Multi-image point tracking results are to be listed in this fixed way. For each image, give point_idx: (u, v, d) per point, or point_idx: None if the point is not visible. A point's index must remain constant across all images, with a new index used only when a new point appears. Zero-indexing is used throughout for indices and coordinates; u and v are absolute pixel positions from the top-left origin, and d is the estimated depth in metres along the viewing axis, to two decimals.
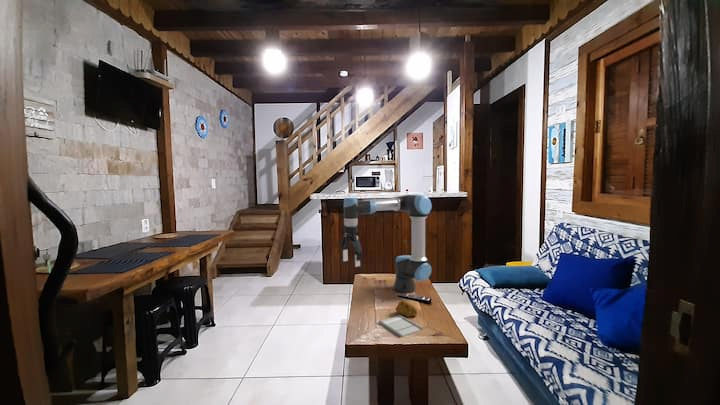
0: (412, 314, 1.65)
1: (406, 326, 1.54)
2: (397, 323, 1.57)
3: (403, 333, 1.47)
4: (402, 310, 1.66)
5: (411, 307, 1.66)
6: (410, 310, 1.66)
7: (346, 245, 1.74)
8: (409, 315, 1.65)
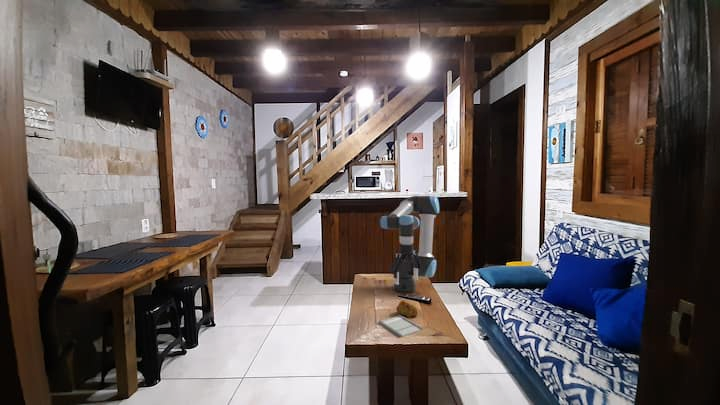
0: (413, 314, 1.65)
1: (406, 326, 1.54)
2: (397, 323, 1.57)
3: (403, 333, 1.47)
4: (403, 310, 1.66)
5: (412, 307, 1.66)
6: (411, 310, 1.66)
7: (413, 263, 1.70)
8: (410, 315, 1.65)
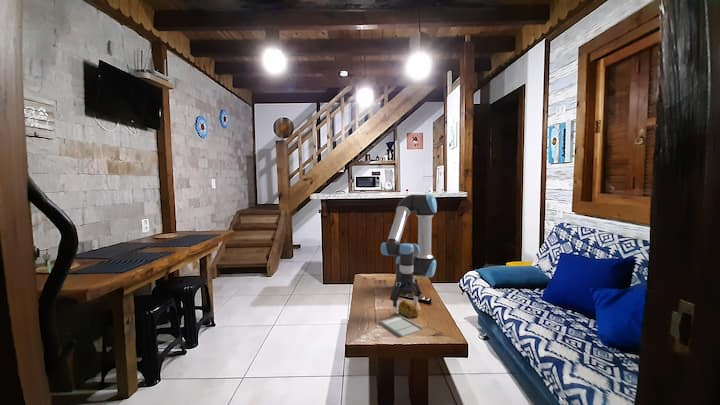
0: (413, 315, 1.65)
1: (406, 326, 1.54)
2: (397, 323, 1.57)
3: (403, 333, 1.47)
4: (404, 311, 1.66)
5: (412, 308, 1.66)
6: (411, 311, 1.65)
7: (413, 291, 1.71)
8: (410, 316, 1.65)
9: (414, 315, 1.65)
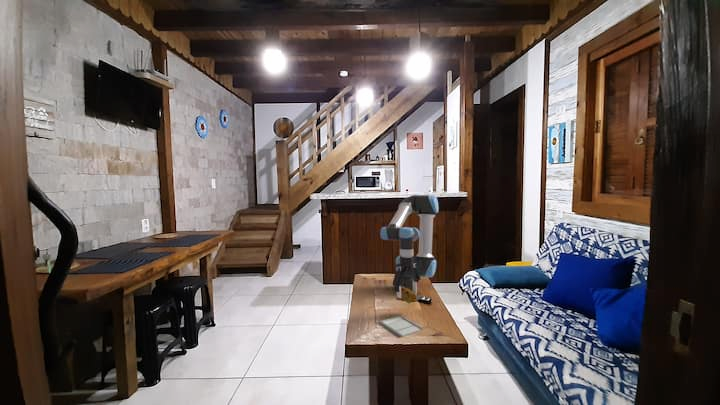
0: (412, 300, 1.65)
1: (406, 326, 1.54)
2: (397, 323, 1.57)
3: (403, 333, 1.47)
4: (403, 296, 1.66)
5: (411, 293, 1.66)
6: (410, 296, 1.65)
7: (412, 276, 1.70)
8: (409, 301, 1.65)
9: (413, 300, 1.65)
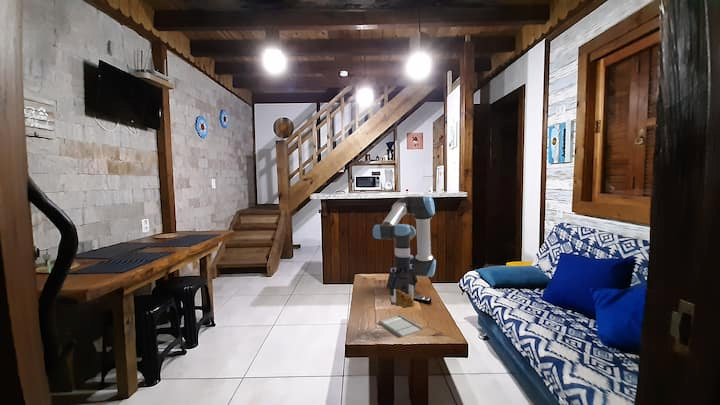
0: (408, 305, 1.48)
1: (406, 326, 1.54)
2: (397, 323, 1.57)
3: (403, 333, 1.47)
4: (397, 300, 1.49)
5: (407, 297, 1.49)
6: (406, 300, 1.49)
7: (408, 278, 1.54)
8: (405, 306, 1.49)
9: (409, 305, 1.48)
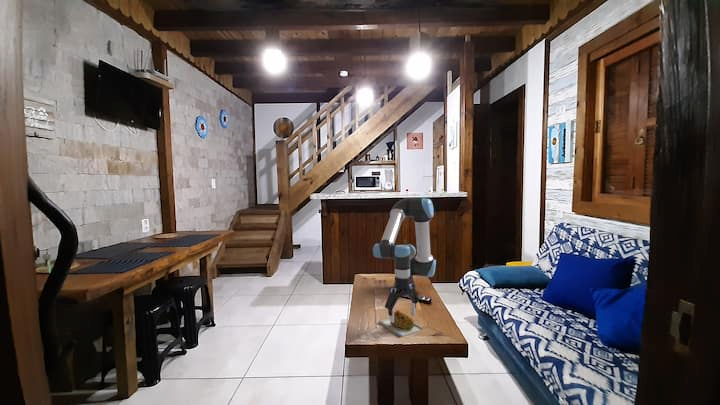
0: (408, 326, 1.49)
1: None
2: None
3: (403, 333, 1.47)
4: (398, 322, 1.50)
5: (407, 318, 1.50)
6: (406, 322, 1.50)
7: (410, 297, 1.55)
8: (405, 327, 1.49)
9: (409, 327, 1.49)
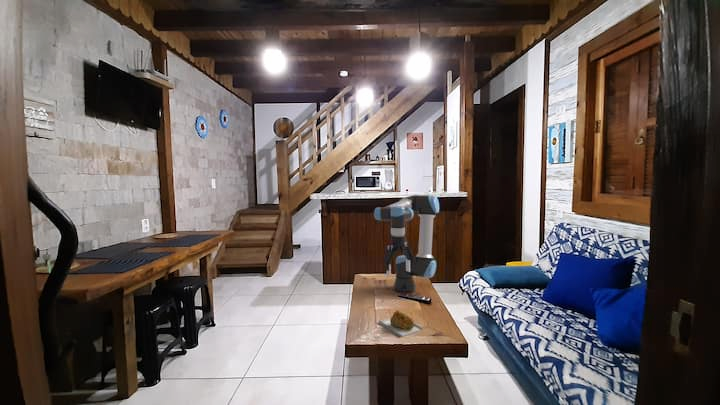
0: (408, 326, 1.49)
1: None
2: None
3: (403, 333, 1.47)
4: (398, 322, 1.50)
5: (407, 318, 1.50)
6: (406, 322, 1.50)
7: (405, 255, 1.68)
8: (405, 327, 1.49)
9: (409, 327, 1.49)
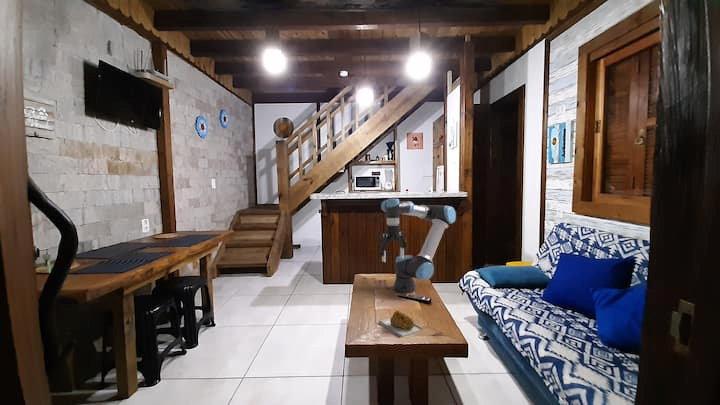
0: (408, 326, 1.49)
1: None
2: None
3: (403, 333, 1.47)
4: (398, 322, 1.50)
5: (407, 318, 1.50)
6: (406, 322, 1.50)
7: (399, 243, 1.85)
8: (405, 327, 1.49)
9: (409, 327, 1.49)
